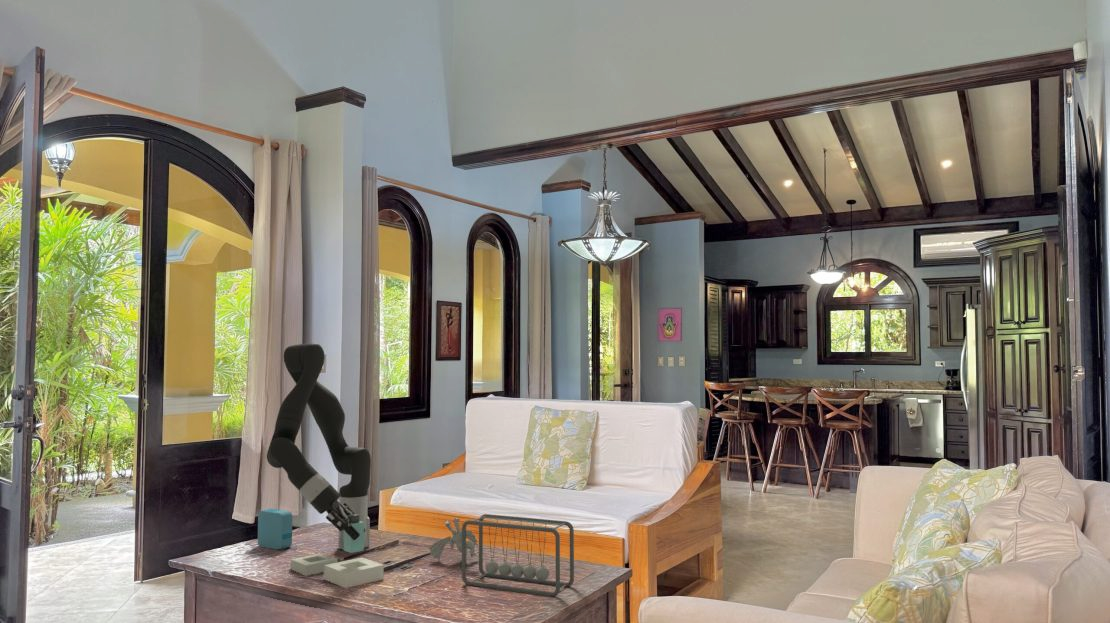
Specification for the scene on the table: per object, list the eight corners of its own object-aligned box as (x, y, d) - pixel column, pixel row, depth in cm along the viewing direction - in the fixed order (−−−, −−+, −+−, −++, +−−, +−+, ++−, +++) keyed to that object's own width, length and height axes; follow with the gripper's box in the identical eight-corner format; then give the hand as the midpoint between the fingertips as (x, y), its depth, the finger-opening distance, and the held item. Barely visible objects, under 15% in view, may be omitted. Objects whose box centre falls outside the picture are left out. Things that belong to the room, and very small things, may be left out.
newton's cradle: (461, 584, 210) (461, 520, 212) (480, 575, 220) (480, 513, 221) (559, 598, 198) (558, 529, 199) (574, 587, 207) (574, 521, 209)
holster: (321, 563, 234) (321, 553, 234) (337, 569, 226) (337, 559, 227) (290, 569, 227) (290, 559, 227) (306, 576, 219) (306, 565, 220)
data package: (292, 547, 254) (292, 511, 255) (281, 550, 250) (281, 513, 251) (268, 543, 260) (268, 508, 261) (257, 546, 256) (257, 510, 257)
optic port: (361, 571, 224) (361, 557, 225) (383, 579, 216) (383, 564, 216) (324, 579, 216) (324, 565, 216) (345, 588, 207) (345, 573, 208)
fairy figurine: (483, 559, 227) (462, 518, 226) (437, 577, 233) (416, 537, 233) (496, 544, 236) (475, 505, 235) (450, 561, 242) (431, 523, 242)
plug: (356, 548, 219) (357, 513, 220) (363, 550, 216) (364, 515, 217) (343, 550, 216) (344, 515, 217) (350, 552, 213) (351, 516, 214)
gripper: (321, 487, 211) (363, 531, 210) (336, 480, 225) (375, 521, 224) (301, 507, 210) (343, 551, 209) (318, 498, 225) (357, 539, 224)
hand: (360, 535), depth 217 cm, fingers closed on plug, 5 cm apart
